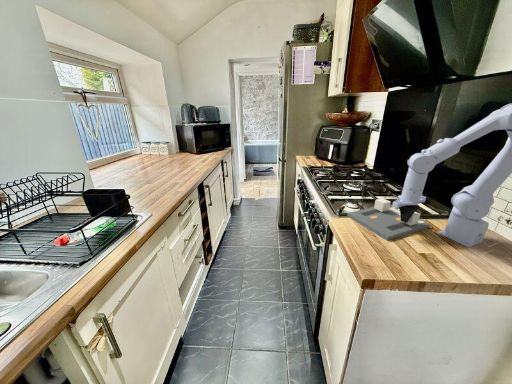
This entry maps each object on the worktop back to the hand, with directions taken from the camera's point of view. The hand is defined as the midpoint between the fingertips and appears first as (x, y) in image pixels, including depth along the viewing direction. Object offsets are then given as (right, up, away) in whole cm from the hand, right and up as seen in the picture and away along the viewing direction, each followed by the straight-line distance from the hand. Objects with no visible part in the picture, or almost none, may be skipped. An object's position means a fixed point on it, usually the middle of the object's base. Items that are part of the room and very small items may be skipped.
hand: (403, 221), depth 80 cm
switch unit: (-3, -1, +6) cm, 7 cm away
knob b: (-2, +4, +12) cm, 12 cm away
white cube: (+3, 0, +1) cm, 3 cm away
